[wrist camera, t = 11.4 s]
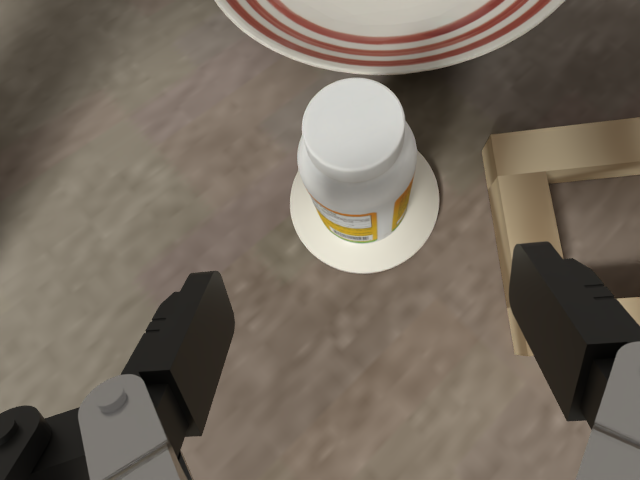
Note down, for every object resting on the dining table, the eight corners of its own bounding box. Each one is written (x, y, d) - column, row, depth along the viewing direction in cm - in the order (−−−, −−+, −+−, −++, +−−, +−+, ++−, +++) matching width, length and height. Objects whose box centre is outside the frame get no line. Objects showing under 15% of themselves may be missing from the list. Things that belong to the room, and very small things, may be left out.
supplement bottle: (379, 145, 26) (380, 36, 17) (424, 218, 25) (453, 144, 15) (303, 186, 26) (260, 101, 17) (343, 261, 25) (321, 214, 15)
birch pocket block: (514, 354, 23) (528, 356, 21) (481, 151, 26) (490, 134, 24) (761, 341, 21) (803, 341, 19) (697, 127, 24) (727, 106, 22)
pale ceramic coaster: (263, 211, 27) (260, 209, 26) (355, 110, 27) (354, 105, 27) (372, 305, 24) (371, 304, 24) (469, 191, 25) (471, 187, 25)
